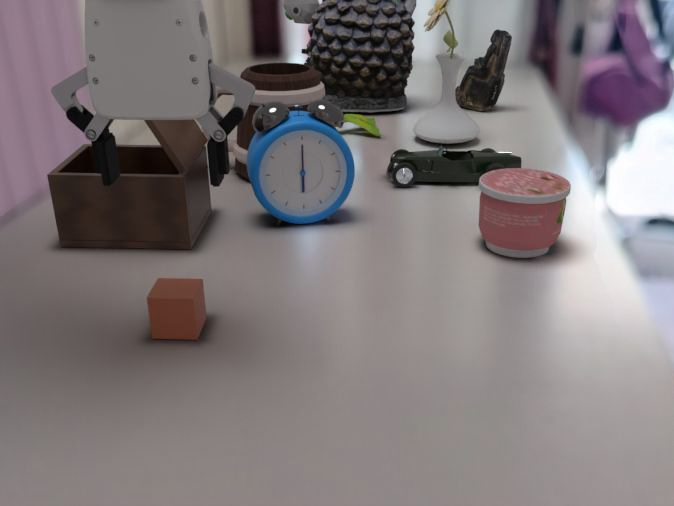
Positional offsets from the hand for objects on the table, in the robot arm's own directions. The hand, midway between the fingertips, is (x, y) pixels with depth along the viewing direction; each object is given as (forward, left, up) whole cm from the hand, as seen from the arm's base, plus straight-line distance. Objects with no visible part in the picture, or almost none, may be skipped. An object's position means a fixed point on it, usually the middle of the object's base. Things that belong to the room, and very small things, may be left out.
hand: (164, 181), depth 72 cm
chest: (-11, +25, -14) cm, 30 cm away
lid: (-7, +25, +2) cm, 26 cm away
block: (0, -1, -14) cm, 14 cm away
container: (+36, +22, -15) cm, 45 cm away
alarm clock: (+9, +30, -15) cm, 34 cm away
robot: (+8, +119, -15) cm, 120 cm away
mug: (+2, +50, -15) cm, 52 cm away
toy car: (+30, +47, -15) cm, 57 cm away
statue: (+38, +92, -15) cm, 100 cm away
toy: (+9, +72, -15) cm, 74 cm away
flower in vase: (+30, +68, -15) cm, 75 cm away
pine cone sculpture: (+15, +91, -15) cm, 93 cm away
